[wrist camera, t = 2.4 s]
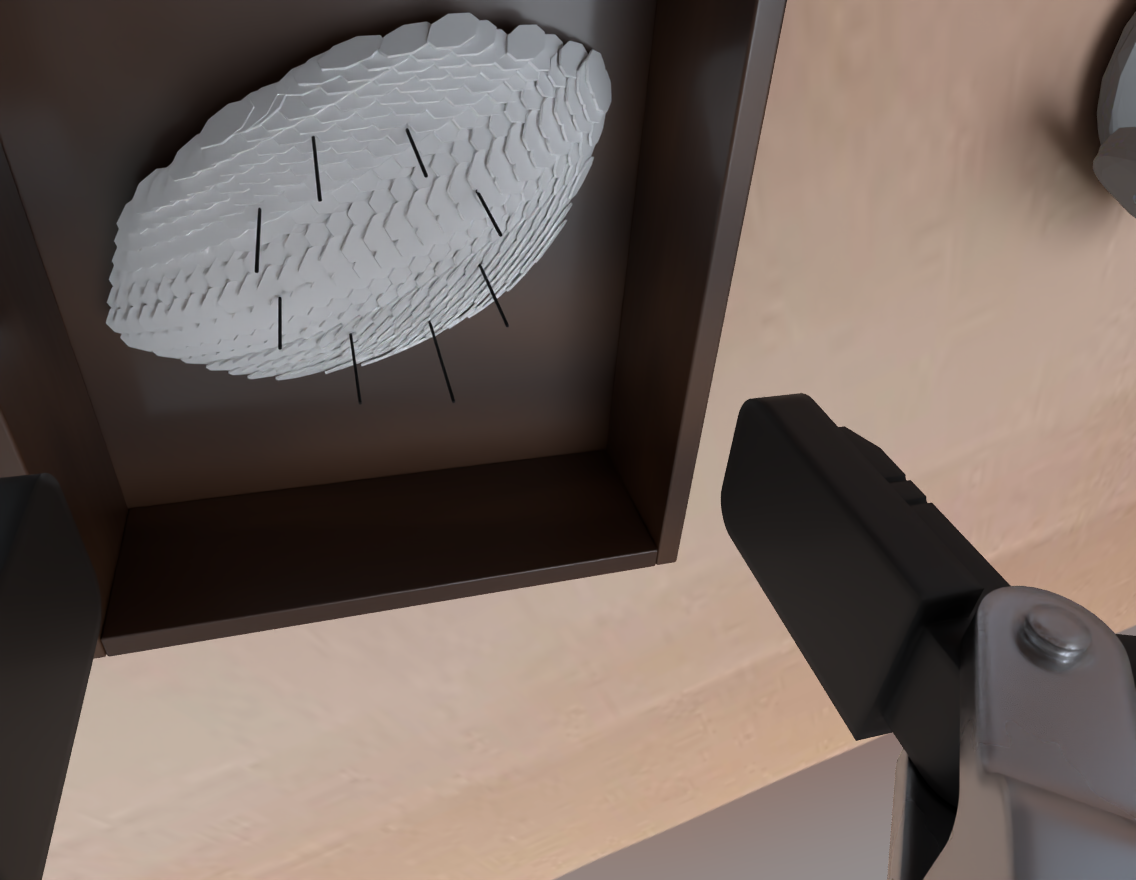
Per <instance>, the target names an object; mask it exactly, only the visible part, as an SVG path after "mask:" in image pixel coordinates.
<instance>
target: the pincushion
mask: <svg viewBox="0 0 1136 880" xmlns="http://www.w3.org/2000/svg"><path fill="white" fill-rule="evenodd" d="M611 101H612V100H611V81H610V78H609V75H608V73H607V70H605V64H604V61H603V58H602V56H601V53H599V52H597V51H595V50H593V49H592V50H590V52H589V54H588V53H587V51H586V50H585V48H584V46H583V45H582V44H580V43H577V42H573V41H568V42H567V43H566V44H565V45H564V46H563V42H562V41H561V40H560V39H559V38H558V37H557V36H556V35H555V34H545V32H544V31H543V30H542V29H541V28H540V27H538V26H537V25H519V26H518V27H517V28H516V29H514V30H513V31H512V32H511V33H510V34H506V33H505V32H504V31H503V30H502V29H497V27H496V26H495V25H493V24H492V23H491V22H490V21H488V20H479V19H477V18H476V17H475V16H474V15H472V14H471V13H452V14H447V15H445V16H444V17H442V18H441V19H439V20H437V21H436V22H434V23H433V24H430V23H429V22H420V23H413V24H406V25H402V26H401V27H399V28H397V29H396V30H394V31H392V32H391V33H389V34H387V35H385V36H384V37H383V38H382V37H381V35H369V36H356V37H354V38H352V39H349V40H347V41H344V42H342V43H339V44H337V45H335V46H333V47H332V48H331V49H330V50H328V51H326V52H324V53H321V54H319V55H317V56H315V57H312V58H310V59H309V60H308V61H307V62H306V63H305V64H302V65H300V66H298V67H295V68H293V69H291V70H290V71H289V72H288V73H287V74H286V75H285V76H284V77H283V78H282V79H281V80H280V81H279V82H277V83H274V84H271V85H268V86H265V87H262V88H260V89H259V90H258V91H255V92H251V93H250V94H248V95H247V96H246V97H245V98H243V99H242V100H241V101H237V102H233V103H229V104H227V105H226V106H225V107H224V108H222V109H221V110H220V111H218V112H217V113H216V114H215V115H213V116H212V117H211V118H210V119H208V121H207V122H206V124H205V126H204V127H203V129H202V131H201V133H200V134H197V135H196V136H195V137H193V138H192V139H191V140H190V141H189V142H188V143H186V144H185V145H184V146H183V147H182V148H181V149H180V150H178V151H177V154H176V156H175V158H174V160H173V162H172V163H171V164H170V165H169V166H168V167H166V168H159V169H155V170H154V171H153V172H152V173H151V174H150V175H148V176H147V177H146V178H145V179H144V180H142V181H141V182H140V183H139V184H138V187H137V189H136V192H135V194H134V197H133V199H132V200H131V201H130V202H128V203H127V204H126V205H125V207H124V209H123V211H122V213H121V215H120V217H119V219H118V221H117V223H116V224H117V226H118V228H119V230H118V232H117V235H116V237H115V240H114V242H115V244H116V246H117V249H116V251H115V254H114V256H113V259H112V262H113V264H114V267H113V269H112V272H111V275H110V277H109V281H110V282H111V284H112V285H113V287H112V289H111V292H110V294H109V297H108V300H107V303H108V304H109V306H110V307H111V309H110V310H109V314H108V317H107V320H106V324H107V325H108V326H109V327H110V328H111V329H112V330H113V331H114V332H117V333H121V337H120V338H121V339H122V340H123V341H124V342H125V343H126V344H127V345H128V346H129V347H132V348H136V349H141V350H145V351H149V352H151V351H153V352H154V353H155V354H156V355H157V356H162V357H169V358H176V359H180V358H181V359H180V360H182V361H184V362H185V363H192V364H208V365H206V368H207V369H209V370H230V371H229V372H228V373H229V374H232V375H243V374H250V375H248V376H247V377H248V378H249V379H257V378H264V377H271V376H275V375H279V376H277V377H276V380H285V379H292V378H298V377H302V376H306V375H311V374H315V373H318V372H321V371H325V370H328V371H325V374H328V373H331V372H334V371H337V370H340V369H344V368H347V367H349V366H352V365H353V366H354V373H355V381H356V388H357V396H358V403H359V404H360V405H361V404H362V400H361V393H360V386H359V379H358V372H357V365H356V364H358V363H361V362H363V361H365V362H363V363H361V366H364V365H367V364H370V363H373V362H376V361H379V360H382V359H384V358H387V357H389V356H392V355H394V354H397V353H399V352H401V351H404V350H406V349H408V348H410V347H412V346H414V345H417V344H419V343H421V342H423V341H425V340H427V339H429V338H431V337H433V340H434V343H435V347H436V350H437V353H438V357H439V360H440V364H441V367H442V370H443V374H444V377H445V380H446V384H447V387H448V390H449V394H450V397H451V400H452V403H455V399H454V395H453V392H452V389H451V386H450V382H449V379H448V376H447V372H446V369H445V366H444V363H443V359H442V356H441V353H440V349H439V346H438V343H437V339H436V335H438V334H439V333H441V332H442V331H444V330H446V329H447V328H449V329H450V328H452V327H453V326H455V325H456V324H458V323H459V322H461V321H462V320H464V319H465V318H466V317H468V318H470V317H472V316H474V315H475V314H477V313H478V312H480V311H481V310H483V309H484V308H486V307H487V306H488V305H490V304H491V303H492V302H493V301H495V304H496V306H497V308H498V310H499V312H500V315H501V317H502V319H503V321H504V324H505V326H506V327H509V324H508V322H507V320H506V317H505V315H504V313H503V311H502V309H501V307H500V304H499V302H498V300H497V298H499V297H500V296H501V295H502V294H503V293H504V292H505V291H507V292H508V291H509V290H511V289H512V288H513V287H514V286H515V285H516V284H517V283H518V282H519V281H520V280H521V279H522V278H523V276H524V275H525V274H526V273H527V272H528V271H529V269H530V268H531V267H532V266H533V265H534V263H535V262H536V263H537V262H538V260H539V259H540V258H541V257H542V256H543V254H544V253H545V252H546V250H547V249H548V248H549V246H550V245H551V244H552V242H553V241H554V240H555V238H556V237H557V235H558V234H559V232H560V231H561V230H562V228H563V227H564V225H565V224H566V222H567V220H566V219H565V220H564V221H563V223H562V224H561V222H562V220H563V219H564V217H565V216H566V214H567V213H568V211H569V210H570V208H571V206H572V203H570V204H569V202H570V200H571V199H572V198H573V197H574V196H575V195H576V194H577V192H578V190H579V189H580V187H581V185H582V184H583V182H584V180H585V178H586V176H587V174H588V172H589V169H590V167H591V165H592V162H593V159H594V157H591V155H592V153H593V150H594V147H595V145H596V143H598V141H599V138H600V135H601V133H602V130H603V126H604V120H605V114H606V112H607V111H608V109H609V106H610V104H611ZM568 204H569V205H568ZM567 205H568V206H567ZM560 224H561V225H560ZM559 225H560V226H559ZM557 228H558V229H557ZM556 229H557V230H556ZM504 283H505V284H504ZM503 284H504V285H503ZM502 285H503V286H502ZM501 286H502V287H501ZM500 287H501V288H500ZM489 293H490V294H489ZM488 294H489V295H488ZM487 295H488V297H487V298H485V297H486V296H487ZM484 298H485V299H484ZM483 299H484V300H483ZM472 305H473V306H472ZM471 306H472V307H471ZM441 327H442V328H441ZM396 347H397V348H396ZM394 348H396V349H394ZM392 349H394V350H392ZM390 350H392V351H390ZM388 351H389V352H388ZM386 352H387V353H386ZM383 353H384V354H383ZM373 357H374V358H373ZM371 358H372V359H371ZM368 359H370V360H368ZM366 360H367V361H366ZM332 368H333V369H332ZM329 369H330V370H329ZM281 374H282V375H281Z"/></svg>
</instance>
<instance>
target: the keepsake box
mask: <svg viewBox="0 0 1136 880" xmlns="http://www.w3.org/2000/svg"><path fill="white" fill-rule="evenodd" d="M786 3H787V0H0V478H3V477H12V476H22V475H31V474H40V473H49V474H51V475H52V476H53V477H54V478H55V479H56V480H57V482H58V483H59V485H60V487H61V489H62V492H63V494H64V496H65V499H66V501H67V504H68V506H69V509H70V511H71V514H72V516H73V519H74V521H75V524H76V526H77V528H78V531H79V533H80V536H81V538H82V541H83V543H84V546H85V548H86V551H87V553H88V556H89V558H90V560H91V563H92V565H93V568H94V570H95V573H96V576H97V580H98V584H99V589H100V596H101V625H100V631H99V636H98V640H97V645H96V649H95V653H94V657H93V659H94V658H100V657H105V656H106V655H108V656H115V655H121V654H127V653H133V652H139V651H145V650H151V649H157V648H163V647H169V646H175V645H181V644H188V643H194V642H200V641H206V640H212V639H218V638H224V637H230V636H236V635H242V634H248V633H254V632H260V631H266V630H272V629H278V628H284V627H290V626H296V625H302V624H308V623H314V622H320V621H326V620H332V619H338V618H344V617H350V616H356V615H362V614H368V613H374V612H380V611H386V610H392V609H398V608H404V607H410V606H416V605H422V604H428V603H434V602H440V601H446V600H452V599H458V598H464V597H470V596H476V595H482V594H488V593H494V592H500V591H506V590H512V589H518V588H524V587H530V586H536V585H542V584H548V583H554V582H560V581H566V580H572V579H579V578H585V577H591V576H597V575H603V574H609V573H615V572H621V571H627V570H633V569H639V568H645V567H651V566H655V564H657V565H660V564H666V563H672V562H675V561H676V560H677V555H678V549H679V544H680V539H681V534H682V529H683V524H684V519H685V514H686V509H687V504H688V499H689V494H690V489H691V484H692V479H693V474H694V468H695V463H696V458H697V453H698V448H699V443H700V438H701V433H702V428H703V423H704V418H705V413H706V408H707V403H708V398H709V393H710V387H711V382H712V377H713V372H714V367H715V362H716V357H717V352H718V347H719V342H720V337H721V332H722V327H723V322H724V317H725V311H726V306H727V301H728V296H729V291H730V286H731V281H732V276H733V271H734V266H735V261H736V256H737V251H738V246H739V241H740V236H741V230H742V225H743V220H744V215H745V210H746V205H747V200H748V195H749V190H750V185H751V180H752V175H753V170H754V165H755V160H756V155H757V149H758V144H759V139H760V134H761V129H762V124H763V119H764V114H765V109H766V104H767V99H768V94H769V89H770V84H771V79H772V74H773V68H774V63H775V58H776V53H777V48H778V43H779V38H780V33H781V28H782V23H783V18H784V13H785V8H786ZM452 13H471V14H472V15H474V16H475V17H476V18H477V19H479V20H488V21H490V22H491V23H492V24H493V25H495V26H496V27H497V29H502V30H503V31H504V32H505V33H506V34H510V33H511V32H512V31H513V30H514V29H516V28H517V27H518V26H519V25H537V26H538V27H540V28H541V29H542V30H543V31H544V32H545V34H555V35H556V36H557V37H558V38H559V39H560V40H561V41H562V42H563V46H564V45H565V44H566V43H567V42H568V41H573V42H577V43H580V44H582V45H583V46H584V48H585V50H586V51H587V53H588V54H589V52H590V50H592V49H593V50H595V51H597V52H599V53H601V56H602V58H603V61H604V64H605V70H607V73H608V75H609V78H610V81H611V100H612V101H611V104H610V106H609V109H608V111H607V112H606V114H605V120H604V126H603V130H602V133H601V135H600V138H599V141H598V143H596V145H595V147H594V150H593V153H592V155H591V157H594V159H593V162H592V165H591V167H590V169H589V172H588V174H587V176H586V178H585V180H584V182H583V184H582V185H581V187H580V189H579V190H578V192H577V194H576V195H575V196H574V197H573V198H572V199H571V200H570V202H569V204H570V203H572V206H571V208H570V210H569V211H568V213H567V214H566V216H565V217H564V219H563V220H562V222H561V224H562V223H563V221H564V220H565V219H566V220H567V222H566V224H565V225H564V227H563V228H562V230H561V231H560V232H559V234H558V235H557V237H556V238H555V240H554V241H553V242H552V244H551V245H550V246H549V248H548V249H547V250H546V252H545V253H544V254H543V256H542V257H541V258H540V259H539V260H538V262H537V263H536V262H535V263H534V265H533V266H532V267H531V268H530V269H529V271H528V272H527V273H526V274H525V275H524V276H523V278H522V279H521V280H520V281H519V282H518V283H517V284H516V285H515V286H514V287H513V288H512V289H511V290H509V291H508V292H507V291H505V292H504V293H503V294H502V295H501V296H500V297H499V298H497V300H498V302H499V304H500V307H501V309H502V311H503V313H504V315H505V317H506V320H507V322H508V324H509V327H506V326H505V324H504V321H503V319H502V317H501V315H500V312H499V310H498V308H497V306H496V304H495V301H493V302H492V303H491V304H490V305H488V306H487V307H486V308H484V309H483V310H481V311H480V312H478V313H477V314H475V315H474V316H472V317H470V318H468V317H466V318H465V319H464V320H462V321H461V322H459V323H458V324H456V325H455V326H453V327H452V328H450V329H449V328H447V329H446V330H444V331H442V332H441V333H439V334H438V335H436V339H437V343H438V346H439V349H440V353H441V356H442V359H443V363H444V366H445V369H446V372H447V376H448V379H449V382H450V386H451V389H452V392H453V395H454V399H455V403H452V400H451V397H450V394H449V390H448V387H447V384H446V380H445V377H444V374H443V370H442V367H441V364H440V360H439V357H438V353H437V350H436V347H435V343H434V340H433V337H431V338H429V339H427V340H425V341H423V342H421V343H419V344H417V345H414V346H412V347H410V348H408V349H406V350H404V351H401V352H399V353H397V354H394V355H392V356H389V357H387V358H384V359H382V360H379V361H376V362H373V363H370V364H367V365H364V366H361V363H363V362H365V361H363V362H361V363H358V364H356V365H357V372H358V379H359V386H360V393H361V400H362V404H361V405H360V404H359V403H358V396H357V388H356V381H355V373H354V366H353V365H352V366H349V367H347V368H344V369H340V370H337V371H334V372H331V373H328V374H325V371H328V370H325V371H321V372H318V373H315V374H311V375H306V376H302V377H298V378H292V379H285V380H276V377H277V376H279V375H275V376H271V377H264V378H257V379H249V378H248V377H247V376H248V375H250V374H243V375H232V374H229V373H228V372H229V371H230V370H209V369H207V368H206V365H208V364H192V363H185V362H184V361H182V360H180V359H181V358H180V359H176V358H169V357H162V356H157V355H156V354H155V353H154V352H153V351H151V352H149V351H145V350H141V349H136V348H132V347H129V346H128V345H127V344H126V343H125V342H124V341H123V340H122V339H121V338H120V337H121V333H117V332H114V331H113V330H112V329H111V328H110V327H109V326H108V325H107V324H106V320H107V317H108V314H109V310H110V309H111V307H110V306H109V304H108V303H107V300H108V297H109V294H110V292H111V289H112V287H113V285H112V284H111V282H110V281H109V277H110V275H111V272H112V269H113V267H114V264H113V262H112V259H113V256H114V254H115V251H116V249H117V246H116V244H115V242H114V240H115V237H116V235H117V232H118V230H119V228H118V226H117V224H116V223H117V221H118V219H119V217H120V215H121V213H122V211H123V209H124V207H125V205H126V204H127V203H128V202H130V201H131V200H132V199H133V197H134V194H135V192H136V189H137V187H138V184H139V183H140V182H141V181H142V180H144V179H145V178H146V177H147V176H148V175H150V174H151V173H152V172H153V171H154V170H155V169H159V168H166V167H168V166H169V165H170V164H171V163H172V162H173V160H174V158H175V156H176V154H177V151H178V150H180V149H181V148H182V147H183V146H184V145H185V144H186V143H188V142H189V141H190V140H191V139H192V138H193V137H195V136H196V135H197V134H200V133H201V131H202V129H203V127H204V126H205V124H206V122H207V121H208V119H210V118H211V117H212V116H213V115H215V114H216V113H217V112H218V111H220V110H221V109H222V108H224V107H225V106H226V105H227V104H229V103H233V102H237V101H241V100H242V99H243V98H245V97H246V96H247V95H248V94H250V93H251V92H255V91H258V90H259V89H260V88H262V87H265V86H268V85H271V84H274V83H277V82H279V81H280V80H281V79H282V78H283V77H284V76H285V75H286V74H287V73H288V72H289V71H290V70H291V69H293V68H295V67H298V66H300V65H302V64H305V63H306V62H307V61H308V60H309V59H310V58H312V57H315V56H317V55H319V54H321V53H324V52H326V51H328V50H330V49H331V48H332V47H333V46H335V45H337V44H339V43H342V42H344V41H347V40H349V39H352V38H354V37H356V36H369V35H381V37H382V38H383V37H384V36H385V35H387V34H389V33H391V32H392V31H394V30H396V29H397V28H399V27H401V26H402V25H406V24H413V23H420V22H429V23H430V24H433V23H434V22H436V21H437V20H439V19H441V18H442V17H444V16H445V15H447V14H452ZM569 204H568V205H569ZM568 205H567V206H568ZM561 224H560V225H561ZM560 225H559V226H560ZM557 229H558V228H557ZM557 229H556V230H557ZM504 284H505V283H504ZM504 284H503V285H504ZM503 285H502V286H503ZM502 286H501V287H502ZM501 287H500V288H501ZM489 294H490V293H489ZM489 294H488V295H489ZM488 295H487V296H486V297H485V298H487V297H488ZM485 298H484V299H485ZM484 299H483V300H484ZM472 306H473V305H472ZM472 306H471V307H472ZM441 328H442V327H441ZM396 348H397V347H396ZM396 348H394V349H396ZM394 349H392V350H394ZM392 350H390V351H392ZM388 352H389V351H388ZM386 353H387V352H386ZM383 354H384V353H383ZM373 358H374V357H373ZM371 359H372V358H371ZM368 360H370V359H368ZM366 361H367V360H366ZM332 369H333V368H332ZM329 370H330V369H329ZM281 375H282V374H281Z"/></svg>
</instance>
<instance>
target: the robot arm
mask: <svg viewBox="0 0 1136 880" xmlns="http://www.w3.org/2000/svg"><path fill="white" fill-rule="evenodd" d="M721 509H722V515H723V520H724V523H725V526H726V529H727V531H728V534H729V536H730V537H731V539H732V541H733V542H734V544H735V546H736V547H737V549H738V550H739V552H740V554H741V555H742V557H743V559H744V560H745V562H746V563H747V565H748V567H749V568H750V570H751V571H752V573H753V575H754V576H755V578H756V580H757V581H758V583H759V584H760V586H761V588H762V589H763V591H764V593H765V594H766V596H767V597H768V599H769V601H770V602H771V604H772V605H773V607H774V609H775V610H776V612H777V614H778V615H779V617H780V618H781V620H782V622H783V623H784V625H785V627H786V628H787V630H788V631H789V633H790V635H791V636H792V638H793V639H794V641H795V643H796V644H797V646H798V648H799V649H800V651H801V652H802V654H803V656H804V657H805V659H806V661H807V662H808V664H809V665H810V667H811V669H812V670H813V672H814V673H815V675H816V677H817V678H818V680H819V682H820V683H821V685H822V686H823V688H824V690H825V691H826V693H827V695H828V696H829V698H830V699H831V701H832V703H833V704H834V706H835V707H836V709H837V711H838V712H839V714H840V716H841V717H842V719H843V720H844V722H845V724H846V725H847V727H848V729H849V730H850V732H851V733H852V735H853V737H854V738H855V740H856V741H857V740H862V739H866V738H870V737H875V736H879V735H883V734H888V733H892V732H893V733H894V735H895V736H896V738H897V739H898V741H899V742H900V744H901V745H902V747H903V750H902V751H901V754H900V756H899V758H898V760H897V764H896V772H895V785H894V799H893V812H892V824H891V838H890V852H889V864H888V878H887V880H1136V636H1131V635H1121V634H1115V633H1114V632H1113V631H1112V630H1111V629H1110V628H1109V627H1108V626H1107V625H1106V624H1105V623H1104V622H1103V621H1102V620H1100V619H1099V618H1098V617H1097V616H1096V615H1094V614H1093V613H1091V612H1090V611H1089V610H1087V609H1086V608H1084V607H1083V606H1081V605H1079V604H1077V603H1075V602H1074V601H1072V600H1070V599H1067V598H1065V597H1063V596H1061V595H1058V594H1055V593H1053V592H1050V591H1047V590H1043V589H1038V588H1034V587H1026V586H1010V585H1009V584H1008V583H1007V582H1006V581H1005V580H1004V578H1003V577H1002V576H1001V575H1000V574H999V573H998V572H997V571H996V570H995V569H994V568H993V567H992V566H991V565H990V564H989V563H988V562H987V560H986V559H985V558H984V557H983V556H982V555H981V554H980V553H979V552H978V551H977V550H976V549H975V548H974V547H973V546H972V545H971V544H970V542H969V541H968V540H967V539H966V538H965V537H964V536H963V535H962V534H961V533H960V532H959V531H958V530H957V529H956V528H955V527H954V526H953V524H952V523H951V522H950V521H949V520H948V519H947V518H946V517H945V516H944V515H943V514H942V513H941V512H940V511H939V510H938V509H937V508H936V506H935V505H934V504H933V503H927V501H926V496H925V495H924V494H923V493H922V492H921V491H920V490H919V489H918V487H917V486H916V485H915V484H914V483H913V482H912V481H911V480H909V481H907V480H906V478H905V474H904V473H903V472H902V471H901V469H900V468H899V467H898V466H897V465H896V464H895V463H894V462H893V461H892V460H891V459H890V458H889V457H888V456H887V455H886V454H885V453H884V451H883V450H882V449H881V448H879V447H878V446H876V445H874V444H873V443H871V442H869V441H868V440H866V439H864V438H863V437H861V436H859V435H858V434H856V433H855V432H853V431H851V430H850V429H848V428H846V427H845V426H844V427H837V425H836V424H835V423H834V422H833V421H832V420H831V419H830V418H829V417H828V415H827V414H826V413H825V412H824V411H823V410H822V409H821V408H820V407H819V406H818V404H817V403H816V402H815V401H814V400H813V399H812V398H811V397H810V396H808V395H806V394H803V393H800V394H790V395H781V396H771V397H762V398H753V399H749V400H747V401H745V402H744V404H743V405H742V407H741V409H740V412H739V415H738V419H737V424H736V428H735V432H734V437H733V441H732V446H731V450H730V454H729V459H728V463H727V468H726V472H725V477H724V481H723V485H722V491H721ZM100 625H101V596H100V589H99V584H98V580H97V576H96V573H95V570H94V568H93V565H92V563H91V560H90V558H89V556H88V553H87V551H86V548H85V546H84V543H83V541H82V538H81V536H80V533H79V531H78V528H77V526H76V524H75V521H74V519H73V516H72V514H71V511H70V509H69V506H68V504H67V501H66V499H65V496H64V494H63V492H62V489H61V487H60V485H59V483H58V482H57V480H56V479H55V478H54V477H53V476H52V475H51V474H49V473H40V474H31V475H22V476H12V477H3V478H0V880H42V876H43V872H44V867H45V863H46V859H47V854H48V850H49V846H50V842H51V837H52V833H53V829H54V824H55V820H56V816H57V812H58V807H59V803H60V799H61V794H62V790H63V786H64V782H65V777H66V773H67V769H68V764H69V760H70V756H71V752H72V747H73V743H74V739H75V734H76V730H77V726H78V722H79V717H80V713H81V709H82V704H83V700H84V696H85V692H86V687H87V683H88V679H89V674H90V670H91V666H92V662H93V657H94V653H95V649H96V645H97V640H98V636H99V631H100Z"/></svg>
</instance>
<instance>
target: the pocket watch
mask: <svg viewBox="0 0 1136 880" xmlns="http://www.w3.org/2000/svg"><path fill="white" fill-rule="evenodd" d="M1097 122H1098V134H1099V139H1100V142H1101V146H1100V149H1099V152H1098V154H1097V156H1096V157H1095V159H1094V161H1093V171H1094V173H1095V174H1096V176H1097V178H1098V180H1099V181H1100V182H1101V183H1102V185H1103V186H1104V187H1105V188H1106V190H1107V191H1108V192H1109V193H1110V194H1111V195H1112V196H1113V197H1114V198H1115V199H1116V200H1117V201H1118V202H1119V203H1120V204H1121V205H1122V206H1123V207H1124V208H1125V209H1126V210H1127V211H1128V212H1129V213H1130V214H1131V215H1132V216H1133V217H1135V218H1136V12H1135V13H1134V15H1133V16H1132V17H1131V19H1130V20H1129V21H1128V23H1127V24H1126V26H1125V27H1124V29H1123V32H1122V34H1121V36H1120V39H1119V41H1118V43H1117V46H1116V48H1115V50H1114V52H1113V55H1112V57H1111V59H1110V62H1109V64H1108V66H1107V69H1106V71H1105V73H1104V76H1103V78H1102V83H1101V89H1100V95H1099V102H1098V108H1097Z"/></svg>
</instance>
